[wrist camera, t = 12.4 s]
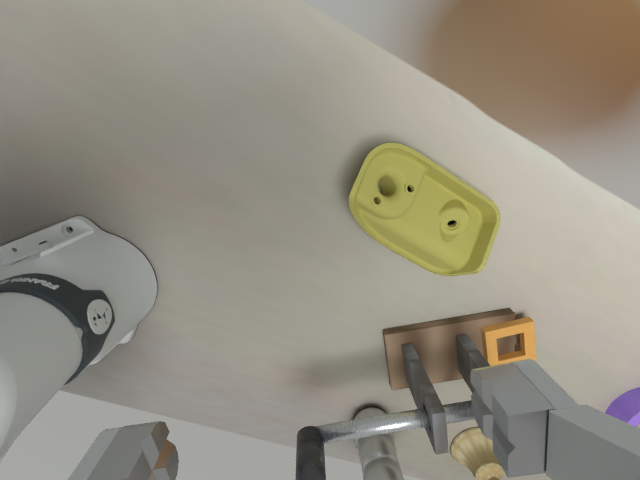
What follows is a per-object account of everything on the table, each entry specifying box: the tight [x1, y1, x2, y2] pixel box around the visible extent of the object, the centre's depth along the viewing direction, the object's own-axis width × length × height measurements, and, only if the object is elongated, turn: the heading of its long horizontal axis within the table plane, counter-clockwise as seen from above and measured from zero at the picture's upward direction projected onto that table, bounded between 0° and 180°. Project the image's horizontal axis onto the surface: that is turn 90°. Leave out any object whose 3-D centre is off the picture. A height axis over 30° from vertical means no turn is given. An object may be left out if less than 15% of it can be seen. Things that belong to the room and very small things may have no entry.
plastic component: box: [349, 143, 500, 276], centre depth 44 cm, size 20×7×10 cm
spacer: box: [481, 317, 536, 366], centre depth 51 cm, size 1×7×7 cm
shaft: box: [296, 400, 475, 480], centre depth 38 cm, size 23×3×9 cm, turn 100°
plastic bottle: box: [354, 407, 404, 480], centre depth 47 cm, size 6×7×20 cm
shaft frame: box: [383, 308, 515, 454], centre depth 46 cm, size 19×10×14 cm, turn 100°
